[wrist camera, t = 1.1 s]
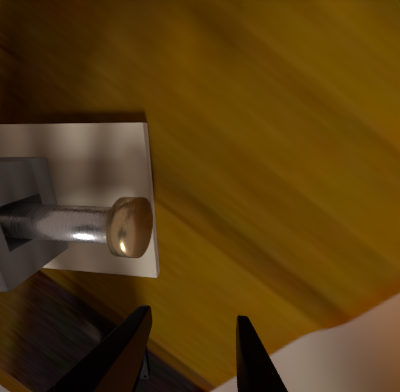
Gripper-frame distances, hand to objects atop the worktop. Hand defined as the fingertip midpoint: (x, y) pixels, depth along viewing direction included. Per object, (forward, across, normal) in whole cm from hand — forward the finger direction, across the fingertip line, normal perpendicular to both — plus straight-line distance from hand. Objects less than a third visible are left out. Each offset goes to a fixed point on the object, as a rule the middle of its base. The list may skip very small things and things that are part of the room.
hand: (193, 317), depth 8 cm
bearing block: (+12, +17, 0) cm, 21 cm away
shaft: (+10, +12, 0) cm, 15 cm away
